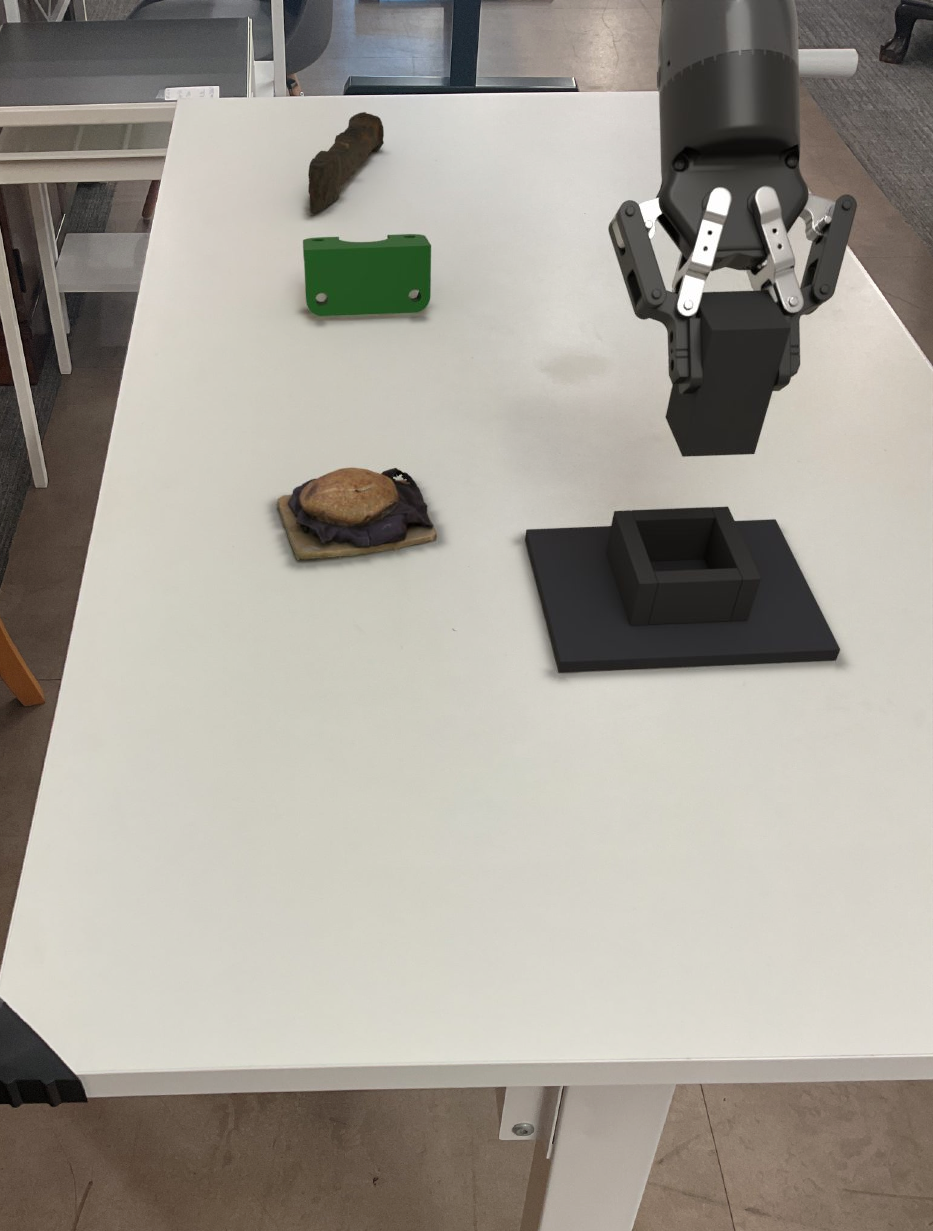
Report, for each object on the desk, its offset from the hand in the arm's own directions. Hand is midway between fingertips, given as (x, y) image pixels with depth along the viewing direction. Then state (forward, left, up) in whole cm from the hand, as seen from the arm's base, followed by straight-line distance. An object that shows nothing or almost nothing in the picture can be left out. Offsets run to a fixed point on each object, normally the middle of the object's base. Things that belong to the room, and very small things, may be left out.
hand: (734, 387), depth 68 cm
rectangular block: (0, -2, -4) cm, 5 cm away
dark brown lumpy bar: (+18, -72, -16) cm, 76 cm away
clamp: (+18, -45, -16) cm, 51 cm away
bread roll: (+21, -11, -16) cm, 29 cm away
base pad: (0, -1, -16) cm, 16 cm away
